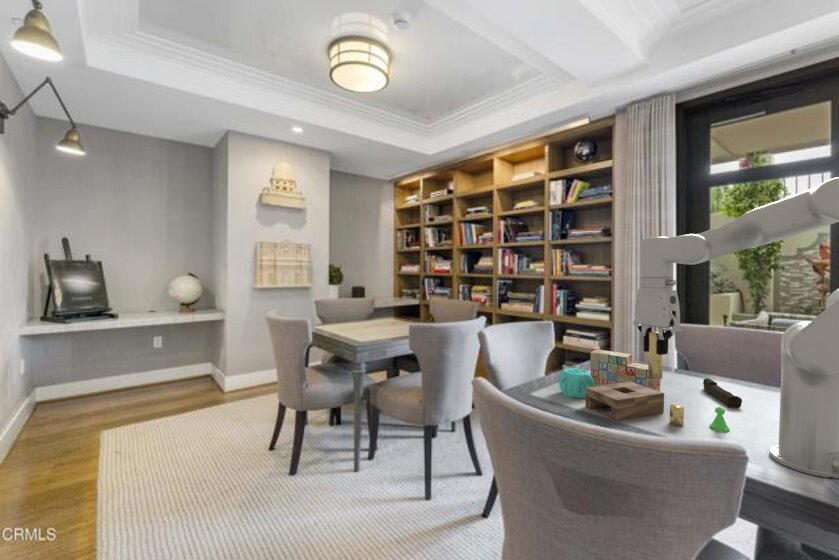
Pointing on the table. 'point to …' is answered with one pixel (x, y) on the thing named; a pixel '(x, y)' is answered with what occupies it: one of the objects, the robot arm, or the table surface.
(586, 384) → the decorative dice
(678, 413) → the short pin
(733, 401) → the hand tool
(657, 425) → the table surface
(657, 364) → the tall pin
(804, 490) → the table surface
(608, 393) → the bridge board
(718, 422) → the game piece
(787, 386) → the robot arm
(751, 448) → the table surface
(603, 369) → the stack of blocks
